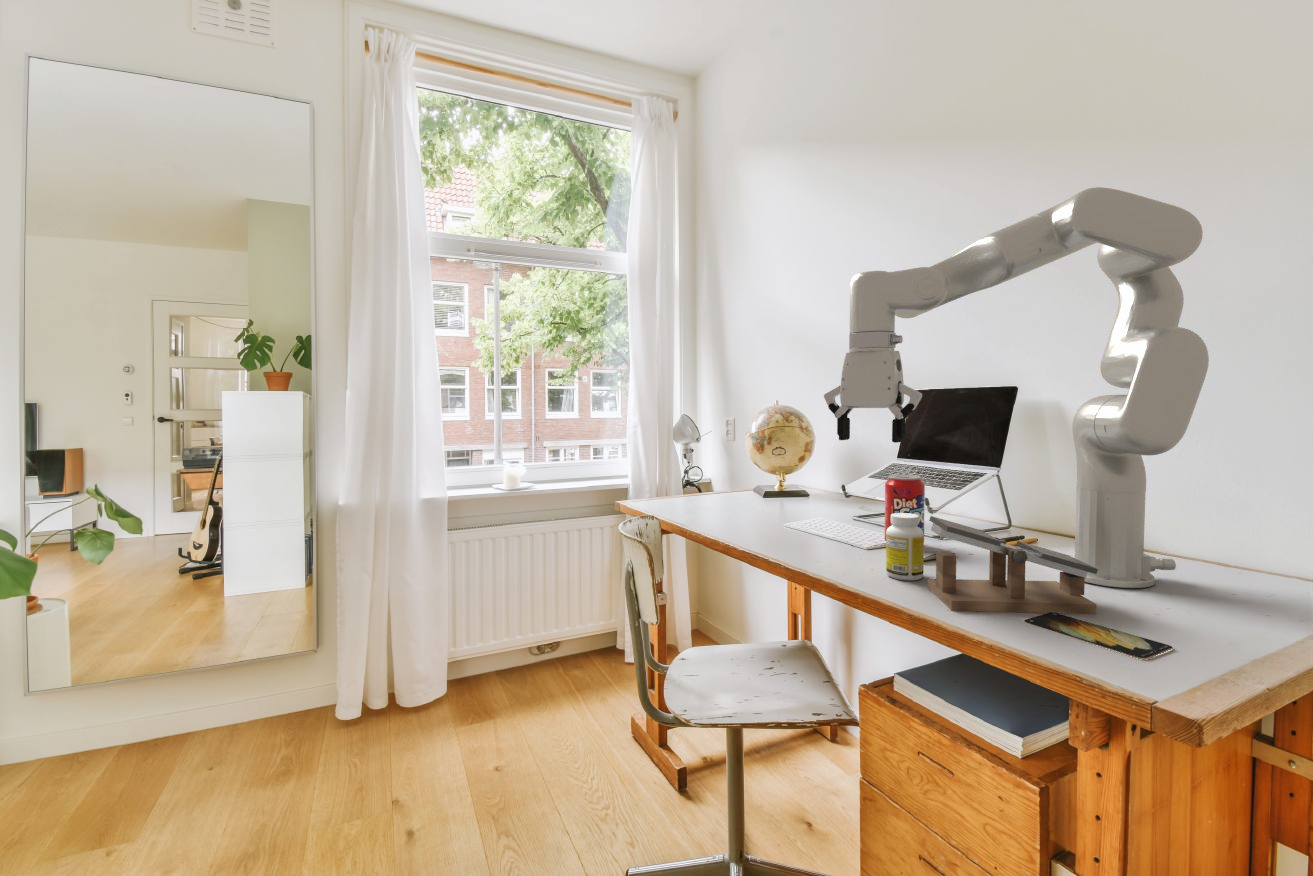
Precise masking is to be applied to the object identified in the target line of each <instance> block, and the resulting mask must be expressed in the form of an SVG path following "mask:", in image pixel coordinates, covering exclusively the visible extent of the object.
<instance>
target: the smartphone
mask: <svg viewBox="0 0 1313 876" xmlns="http://www.w3.org/2000/svg"><path fill="white" fill-rule="evenodd" d="M1023 621H1024V623H1026V624H1028V625H1031V626H1035V627H1038V628H1041V629H1045V630H1048V631H1051V632H1053V633H1057V634H1060V635H1062V636H1066V637H1067V638H1068V637H1069V638H1072V639H1073V640H1077V641H1081V642H1083V643H1086V642H1088V643H1087V644H1090V643H1091V644H1090V645H1093V644H1094V646H1096V645H1098V646H1097V647H1099V646H1101V647H1100V648H1102V647H1103V648H1102V649H1105V648H1107V649H1106V650H1108V649H1110V650H1109V651H1111V650H1114V651H1117V652H1120V653H1123V654H1126V655H1125V656H1127V655H1128V656H1127V657H1130V656H1132V657H1131V658H1133V657H1134V658H1133V659H1136V658H1138V659H1137V660H1139V659H1142V660H1141V661H1147V660H1146V659H1150V658H1152V659H1154V658H1153V657H1154V656H1156V655H1158V654H1161V653H1164V652H1166V651H1168V650H1171V649H1173V648H1174V647H1173V646H1172V645H1169V644H1167V643H1163V642H1160V641H1156V640H1152V639H1149V638H1145V637H1142V636H1139V635H1135V634H1133V633H1128V632H1124V631H1121V630H1118V629H1114V628H1110V627H1108V626H1107V627H1106V626H1103V625H1099V624H1096V623H1093V622H1089V621H1086V620H1082V619H1079V618H1075V617H1072V616H1069V615H1065V614H1063V613H1053V612H1050V613H1043V614H1040V615H1035V616H1033V617H1029V618H1026V619H1024V620H1023ZM1173 650H1174V649H1173ZM1114 651H1113V652H1114ZM1117 652H1116V653H1117ZM1120 653H1119V654H1120ZM1123 654H1122V655H1123ZM1150 660H1151V659H1150Z"/></svg>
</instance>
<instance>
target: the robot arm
mask: <svg viewBox="0 0 1313 876" xmlns="http://www.w3.org/2000/svg"><path fill="white" fill-rule="evenodd" d="M1202 241H1203V227H1202V224H1201V223H1200V220H1199V219H1198V218H1197V217H1196V216H1195V215H1194V214H1193V213H1192V212H1190V211H1189V210H1187V209H1184V208H1182V207H1179V206H1178V205H1177V206H1176V205H1173V204H1170V203H1167V202H1163V201H1159V200H1156V199H1154V198H1153V199H1152V198H1149V197H1146V196H1142V195H1139V194H1136V193H1132V192H1128V191H1124V190H1120V189H1114V188H1108V187H1101V186H1100V187H1098V186H1097V187H1090V188H1086V189H1083V190H1081V191H1079V192H1078V193H1076V194H1074V195H1073V196H1070V197H1068V198H1067V199H1065V200H1063V201H1062V202H1060V203H1058V204H1055V205H1054V206H1052V207H1049V208H1047V209H1045V210H1043V211H1040V212H1038V213H1036V214H1034V215H1032V216H1030V217H1029V216H1028V217H1027V218H1025V219H1023V220H1020V221H1017V222H1016V223H1014V224H1011V225H1009V226H1005V227H1003V228H1001V229H999V230H997V231H993V232H992V233H990V234H988V235H986V236H984V237H982V238H979V239H978V240H976V241H975V242H973V243H971V244H970V245H968V246H967V247H965V248H964V249H962V250H960V251H959V252H957V253H955V254H953V255H951V256H949V257H948V258H945V259H944V260H941V261H939V262H937V263H935V264H933V265H931V266H929V267H928V266H921V267H914V268H909V269H903V270H895V271H886V270H870V271H862V272H859V273H857V274H855V275H853V277H852V278H851V280H850V284H849V336H848V337H849V338H848V340H849V342H848V343H849V344H848V352H845V356H844V359H843V365H842V371H841V376H840V377H841V379H840V385H839V386H836V387H835V388H833V389H831V390H829V391H828V392H827V393H825V394H824V395H823V398H824V400H825V402H826V404H827V407H828V410H830V411H831V413H833V415H834V418H836V421H837V422H836V423H837V424H836V425H837V426H836V427H837V428H836V429H837V430H836V431H837V432H836V434H837V436H838V440H839V441H847V440H849V439H850V438H851V419H850V417H848V415H850V413H851V412H852V410H853V409H886V408H887V409H888V410H889V411H890V412H891V413H892V414H893V416H894V418H893V419H892V422H891V427H892V428H891V442H893V443H895V444H896V443H902V442H903V438H905V437H906V419H908V418H909V416H910V415H911V414H912V413H913V412H914V411H915V410H916V409H917V407H918V405H919V403H920V402H921V400H922V398H923V393H922V392H920V391H918V390H916V389H913V388H912V387H910V386H908V385H906V384H904V383H905V382H904V373H903V363H902V358H901V354H900V350H895V348H896V345H898V344H902V343H903V342H904V341H903V340H904V339H903V335H898V334H896V333H897V332H895V330H896V329H895V326H896V325H895V324H896V323H895V322H896V320H895V319H896V317H897V318H900V319H912V318H913V319H914V318H916V317H919V316H920V315H923V314H925V313H927V312H930V311H932V310H934V309H937V308H939V307H941V306H944V305H946V304H949V303H950V302H953V301H956V300H958V299H961V298H962V297H965V296H968V295H971V294H974V293H977V292H981V291H983V290H986V289H990V288H993V287H995V286H998V285H1000V284H1003V283H1005V282H1008V281H1010V280H1012V279H1014V278H1015V279H1016V278H1017V277H1020V276H1021V275H1025V274H1026V273H1029V272H1031V271H1033V270H1036V269H1038V268H1041V267H1043V266H1045V265H1047V264H1050V263H1053V262H1055V261H1057V260H1061V259H1062V258H1064V257H1066V256H1069V255H1071V254H1074V253H1076V252H1078V251H1081V250H1083V249H1085V248H1087V247H1090V246H1092V245H1095V244H1100V245H1099V247H1098V249H1097V255H1096V256H1097V257H1096V258H1097V263H1098V265H1099V268H1100V269H1101V271H1102V272H1103V273H1104V274H1105V275H1106V277H1108V279H1109V281H1111V282H1112V284H1113V285H1114V287H1115V289H1116V293H1117V296H1118V307H1117V310H1116V316H1115V318H1114V321H1113V324H1112V327H1111V330H1110V333H1109V336H1108V339H1107V343H1106V345H1105V348H1104V351H1103V354H1102V358H1101V360H1100V366H1099V368H1100V375H1101V376H1102V378H1103V380H1104V381H1105V382H1106V383H1108V384H1109V385H1111V386H1114V387H1117V388H1120V389H1128V392H1127V394H1106V395H1100V396H1096V397H1093V398H1091V399H1089V400H1087V401H1086V402H1084V403H1082V405H1081V406H1079V408H1078V409H1077V410H1076V412H1075V414H1074V416H1073V420H1072V425H1071V426H1072V427H1071V428H1072V429H1071V431H1072V438H1073V442H1074V448H1075V454H1076V491H1075V492H1076V494H1075V496H1076V499H1075V527H1074V529H1075V531H1074V539H1075V540H1074V558H1075V559H1077V560H1080V561H1082V562H1084V563H1086V564H1088V565H1090V566H1092V567H1094V568H1097V569H1098V571H1097V574H1093V573H1090V572H1088V573H1087V576H1086V578H1085V583H1088V584H1093V585H1098V586H1103V587H1111V588H1119V589H1121V588H1122V589H1145V588H1149V587H1152V586H1154V585H1155V583H1156V581H1155V580H1156V579H1155V575H1153V574H1151V572H1153V573H1154V572H1155V571H1156V570H1161V571H1175V570H1176V567H1177V563H1176V561H1175V560H1174V559H1173V558H1157V557H1156V556H1151V555H1148V554H1146V553H1144V550H1145V549H1144V548H1145V520H1146V518H1145V517H1146V491H1147V473H1146V467H1145V462H1144V460H1143V457H1142V456H1157V455H1161V454H1164V453H1166V452H1168V451H1170V450H1171V449H1174V448H1175V447H1176V446H1177V445H1178V444H1179V442H1180V441H1181V440H1182V438H1183V437H1184V435H1185V434H1186V433H1187V432H1186V431H1187V430H1188V427H1189V424H1190V422H1191V419H1192V416H1193V414H1194V411H1195V408H1196V405H1197V403H1198V399H1199V397H1200V394H1201V391H1202V388H1203V385H1204V383H1205V380H1206V377H1207V372H1208V369H1209V363H1210V362H1209V361H1210V359H1209V358H1210V357H1209V351H1208V347H1207V345H1206V343H1205V341H1204V339H1203V338H1202V337H1201V336H1200V335H1199V334H1198V333H1197V332H1194V331H1193V330H1191V329H1189V328H1185V327H1179V324H1180V319H1181V316H1182V312H1183V309H1184V308H1183V307H1184V301H1185V300H1184V299H1185V298H1184V292H1183V289H1182V286H1181V284H1180V281H1179V280H1178V278H1177V276H1176V275H1175V274H1174V273H1173V271H1172V270H1171V268H1170V267H1171V266H1172V267H1173V266H1175V265H1177V264H1180V263H1182V262H1183V261H1186V260H1187V259H1188V258H1190V257H1191V256H1192V255H1193V254H1194V253H1195V252H1197V250H1198V248H1199V247H1200V245H1201V243H1202ZM905 396H907V397H909V400H908V403H907V404H906V405H904V407H903V404H904V401H905ZM836 397H839V399H840V405H839V404H838V403H837V401H836Z"/></svg>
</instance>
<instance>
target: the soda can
mask: <svg viewBox="0 0 1313 876" xmlns="http://www.w3.org/2000/svg"><path fill="white" fill-rule="evenodd" d="M925 487H926V485H925V484H924V482H923V480H922V476H919V475H912V474H892V475H888V479H887V480H886V482H885V485H884V541H886V531H887V529H888V528H889V527H890V526H892V523H891V514H894V513H911V514H916V515H918V516H919V524H918V525H917V526H918V527H919V528H920V529H921V530H922V531H923V535H924V536H925V509H926V508H925V507H926V506H925V503H926V501H925V499H926V497H925V495H926V494H925V493H926V491H925Z"/></svg>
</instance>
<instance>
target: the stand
mask: <svg viewBox="0 0 1313 876" xmlns="http://www.w3.org/2000/svg"><path fill="white" fill-rule="evenodd" d="M993 537H994V538H996V539H998V540H1000V541H1002V542H1001V543H1005V544H1007V541H1006V540H1005V539H1000V538H999V537H997V536H996V537H995V536H993ZM935 554H936V556H935V557H936V558H935V560H936V561H935V578H927V588H928V589H929V591H931V592H932V593H933V594H934V595H935V596H936V597H937V598H938V599H939V600H940V602H942V603H943V604H944V605H945V606H946V607H947V608H949V610H950V611H954V612H955V611H956V612H957V611H958V612H995V613H996V612H999V613H1002V612H1003V613H1033V614H1034V613H1035V614H1036V613H1039V614H1041V613H1043V614H1046V613H1050V612H1053V613H1058V614H1078V615H1079V614H1081V615H1083V614H1084V615H1096V614H1097V602H1096V603H1095V602H1094V601H1091V600H1090V599H1088V598H1086V597H1085V583H1086V582H1085V578H1084V577H1081V576H1077V575H1074V574H1070V573H1067V572H1063V571H1059V582H1058V581H1056V580H1026V562H1027V561H1026V560H1027V554H1026V551H1024V550H1022V549H1008V555H1005V554H1001V553H998V552H994V551H991V550H989V576H988V577H989V578H988V579H965V578H964V579H961V578H959V579H957V555H956V554H955V553H953V552H952V551H951V550H936V553H935Z"/></svg>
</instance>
